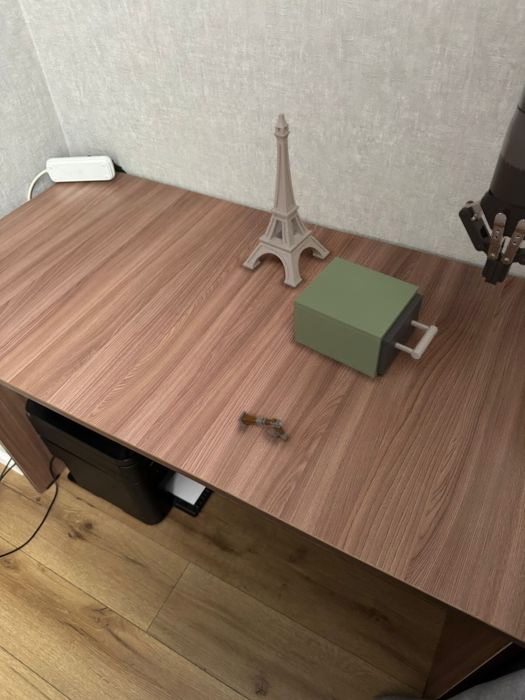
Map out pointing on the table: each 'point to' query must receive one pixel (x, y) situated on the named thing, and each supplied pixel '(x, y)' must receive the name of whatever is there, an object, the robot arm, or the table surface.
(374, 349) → the cabinet
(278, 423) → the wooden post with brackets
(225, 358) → the table surface
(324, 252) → the eiffel tower
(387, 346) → the drawer
